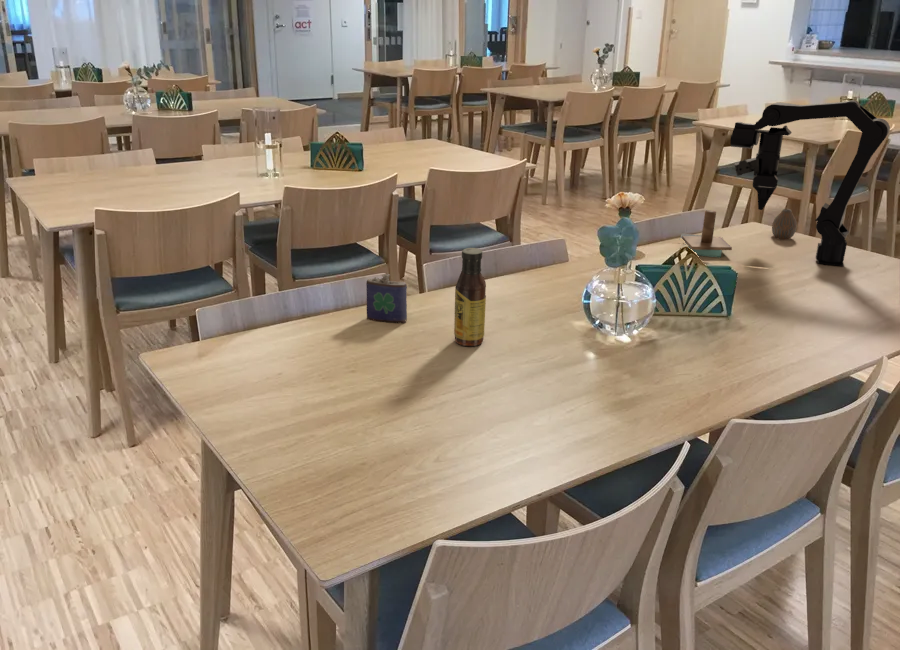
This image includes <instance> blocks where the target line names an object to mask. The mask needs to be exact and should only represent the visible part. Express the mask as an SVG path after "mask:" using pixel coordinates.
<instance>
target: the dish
mask: <svg viewBox="0 0 900 650" xmlns="http://www.w3.org/2000/svg"><path fill="white" fill-rule="evenodd" d="M688 247H689V246H688V245H687V248H688ZM689 248H690V247H689ZM690 249H691V248H690ZM692 250H693V251H694V252H696V253H697V254H698V255H697V256H700V257H701V256H702V257H709V258H710V257H711V258H718V259H719V258H722V251H723V250H694V249H692Z"/></svg>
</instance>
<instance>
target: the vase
mask: <svg viewBox="0 0 900 650" xmlns="http://www.w3.org/2000/svg"><path fill="white" fill-rule="evenodd" d="M797 225H798V223H797V219H796V217H795V216H794V214H793V211H792V209H790V208H783V209H782V210H781V212H779V213H778V214H777V216H776V217H774V219H773V222H772V224H771V231H772V235H773V237H774V238H775V239H778V240H783V241H786V240H790V239H791V238H792V237H794V235H795V234H796V231H797Z"/></svg>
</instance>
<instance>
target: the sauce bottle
mask: <svg viewBox="0 0 900 650" xmlns="http://www.w3.org/2000/svg"><path fill="white" fill-rule="evenodd" d="M461 258H462V260H461V261H462V262H461V263H462V268H461V271H460V274H459V277H458V279H457V282H456V284H455V289H454V291H455V292H454V324H453V325H454V328H453V329H454V330H453V332H454V333H453V334H454V342H456V343H457V344H458V345H460V346H465V347H476V346H480V345H482V344H483V342H484V336H485V326H486V324H485V323H486V304H487V302H486V301H487V295H486V291H487V289H486V288H487V283H486V282H487V281H486V279H485V278H484V276H483V275H482V273H481V272H482V268H481V267H482V259H483V250H482V249H480V248H477V247H467V248H464V249H462V251H461Z"/></svg>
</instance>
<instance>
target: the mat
mask: <svg viewBox="0 0 900 650" xmlns="http://www.w3.org/2000/svg"><path fill="white" fill-rule="evenodd" d="M682 236H702V234H700V235H699V234H690V233H681V235H680V238H682ZM680 238H679V239H680ZM721 238H722V239H723V240H724V238H723V237H721Z"/></svg>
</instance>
